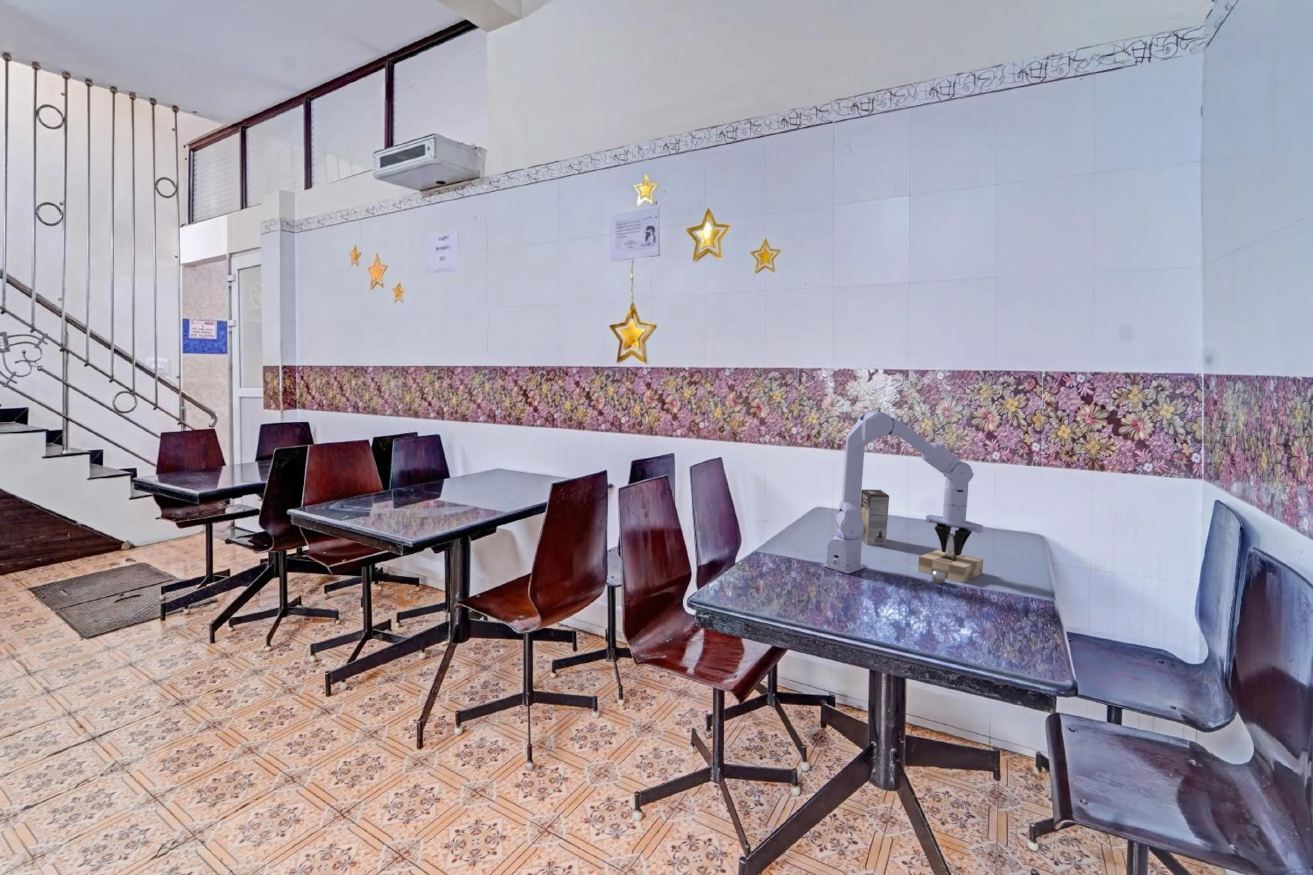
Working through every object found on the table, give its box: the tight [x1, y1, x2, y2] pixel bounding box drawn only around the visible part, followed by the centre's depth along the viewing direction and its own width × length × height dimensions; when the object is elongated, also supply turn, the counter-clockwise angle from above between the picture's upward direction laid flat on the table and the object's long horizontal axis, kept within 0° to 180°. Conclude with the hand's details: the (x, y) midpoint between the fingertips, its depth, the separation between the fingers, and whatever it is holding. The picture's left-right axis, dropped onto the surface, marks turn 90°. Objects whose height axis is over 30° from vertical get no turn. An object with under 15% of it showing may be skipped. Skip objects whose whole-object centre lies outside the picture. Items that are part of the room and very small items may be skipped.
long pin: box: [945, 532, 957, 562], centre depth 170 cm, size 3×3×8 cm
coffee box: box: [861, 489, 890, 546], centre depth 200 cm, size 9×6×16 cm
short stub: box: [931, 570, 946, 586], centre depth 163 cm, size 3×3×3 cm
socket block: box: [917, 548, 984, 584], centre depth 171 cm, size 12×12×4 cm
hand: (951, 553), depth 171 cm, fingers closed on long pin, 3 cm apart
